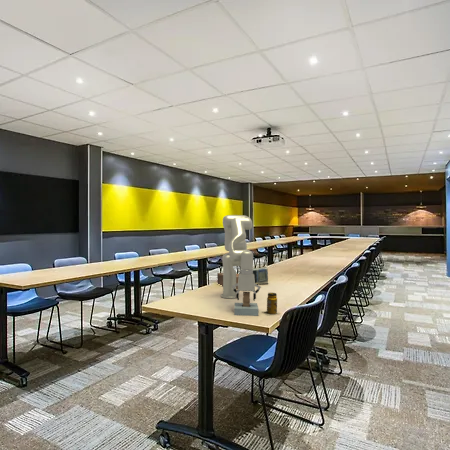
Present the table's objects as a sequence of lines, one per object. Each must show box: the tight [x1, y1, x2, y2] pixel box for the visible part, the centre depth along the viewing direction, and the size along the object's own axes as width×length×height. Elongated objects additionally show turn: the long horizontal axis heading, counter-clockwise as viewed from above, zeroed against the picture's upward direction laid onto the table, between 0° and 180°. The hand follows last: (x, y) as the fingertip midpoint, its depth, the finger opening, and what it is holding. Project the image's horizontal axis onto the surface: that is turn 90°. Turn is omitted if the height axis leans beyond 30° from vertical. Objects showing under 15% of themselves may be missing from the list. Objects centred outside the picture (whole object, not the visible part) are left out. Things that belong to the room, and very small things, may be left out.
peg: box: [242, 291, 251, 307], centre depth 204 cm, size 4×4×12 cm
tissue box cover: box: [216, 272, 240, 290], centre depth 285 cm, size 26×14×10 cm, turn 27°
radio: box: [253, 266, 269, 285], centre depth 296 cm, size 23×9×15 cm, turn 97°
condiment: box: [261, 292, 280, 316], centre depth 202 cm, size 7×8×12 cm
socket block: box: [233, 302, 259, 317], centre depth 204 cm, size 14×14×4 cm
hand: (246, 300), depth 204 cm, fingers open, 9 cm apart
